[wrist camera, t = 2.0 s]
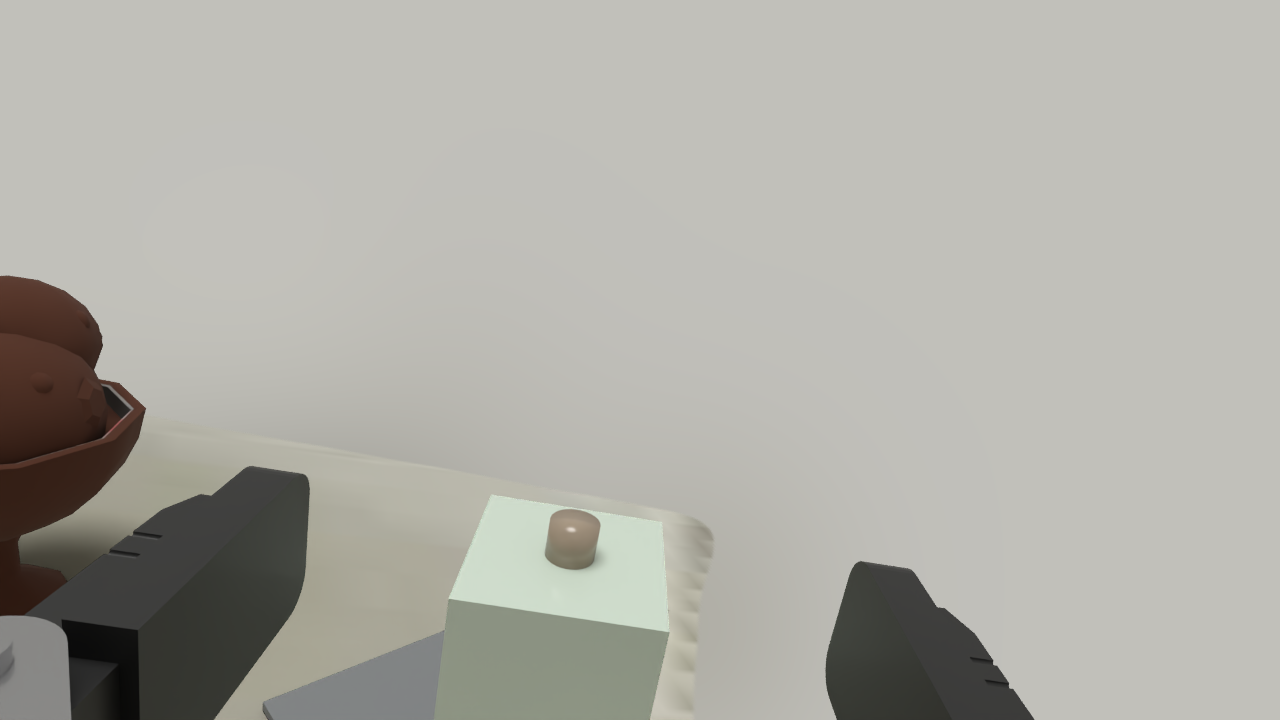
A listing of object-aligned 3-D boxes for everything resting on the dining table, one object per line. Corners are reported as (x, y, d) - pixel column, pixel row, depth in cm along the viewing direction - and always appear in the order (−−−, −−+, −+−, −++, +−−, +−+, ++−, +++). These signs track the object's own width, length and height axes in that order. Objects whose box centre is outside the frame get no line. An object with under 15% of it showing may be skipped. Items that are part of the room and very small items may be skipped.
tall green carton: (410, 907, 23) (453, 560, 20) (456, 752, 29) (495, 464, 26) (601, 931, 24) (677, 596, 20) (608, 773, 30) (668, 492, 26)
